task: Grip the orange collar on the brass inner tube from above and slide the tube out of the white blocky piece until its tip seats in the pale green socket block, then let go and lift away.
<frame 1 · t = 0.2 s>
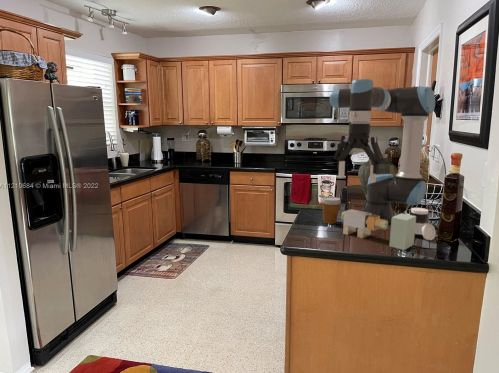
hand: (356, 180, 137), 27 cm above the countertop, tool pointing down, fingers open, 13 cm apart
spread jar: (421, 236, 158), on the countertop
white blocky piece: (356, 234, 160), on the countertop
inner tube: (363, 220, 157), point 7 cm above the countertop, slide at 0.0 cm
socket block: (401, 245, 146), on the countertop
vase: (375, 203, 221), on the countertop
disposable coffee cup: (329, 222, 179), on the countertop
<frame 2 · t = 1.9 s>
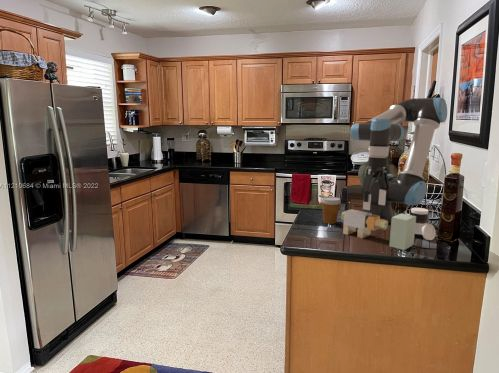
hand: (374, 207, 152), 14 cm above the countertop, tool pointing down, fingers open, 13 cm apart
nothing on the countertop moved.
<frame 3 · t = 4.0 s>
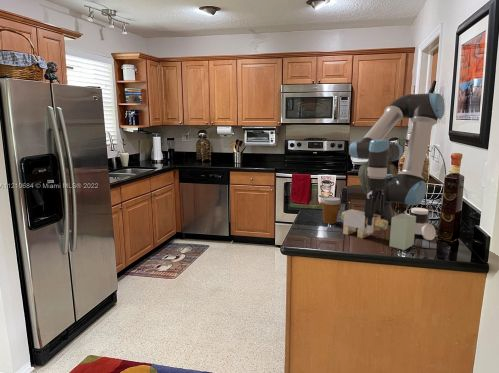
hand: (372, 230, 154), 3 cm above the countertop, tool pointing down, fingers closed on inner tube, 5 cm apart
inner tube: (363, 220, 157), point 7 cm above the countertop, slide at 0.0 cm, touching gripper
everything else where it was.
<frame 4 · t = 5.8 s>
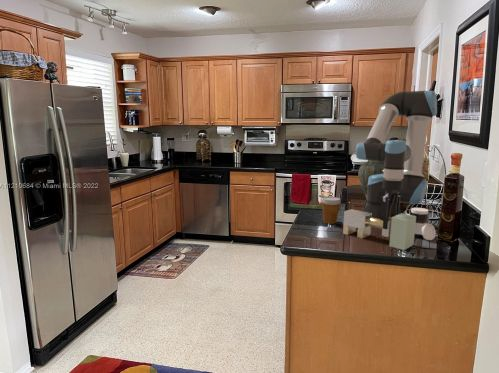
hand: (388, 234, 150), 3 cm above the countertop, tool pointing down, fingers closed on inner tube, 5 cm apart
inner tube: (378, 223, 152), point 7 cm above the countertop, slide at 6.8 cm, touching gripper
everything else where it was.
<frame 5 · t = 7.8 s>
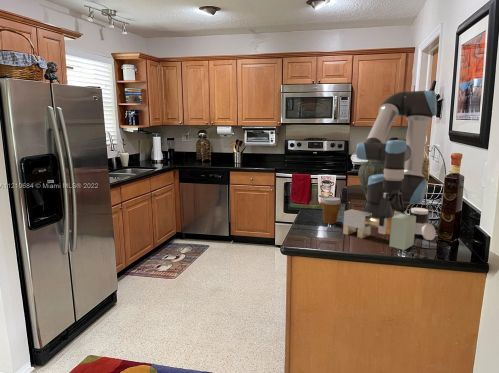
hand: (389, 230, 149), 5 cm above the countertop, tool pointing down, fingers open, 13 cm apart
inner tube: (379, 223, 152), point 7 cm above the countertop, slide at 7.0 cm
everything else where it was.
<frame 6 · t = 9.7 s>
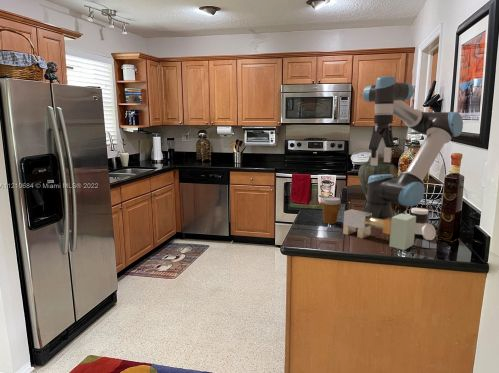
hand: (380, 163, 159), 31 cm above the countertop, tool pointing down, fingers open, 13 cm apart
nothing on the countertop moved.
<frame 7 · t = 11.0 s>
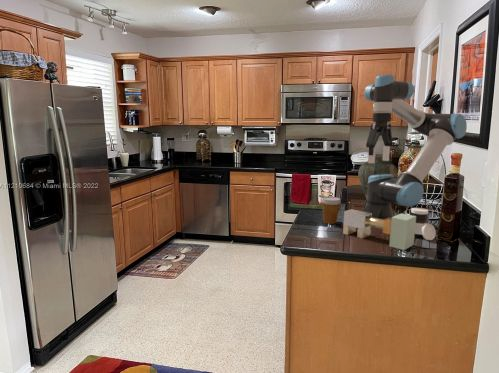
hand: (378, 161, 159), 32 cm above the countertop, tool pointing down, fingers open, 13 cm apart
nothing on the countertop moved.
at the end: inner tube slide at 7.0 cm; the gripper is holding nothing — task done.
